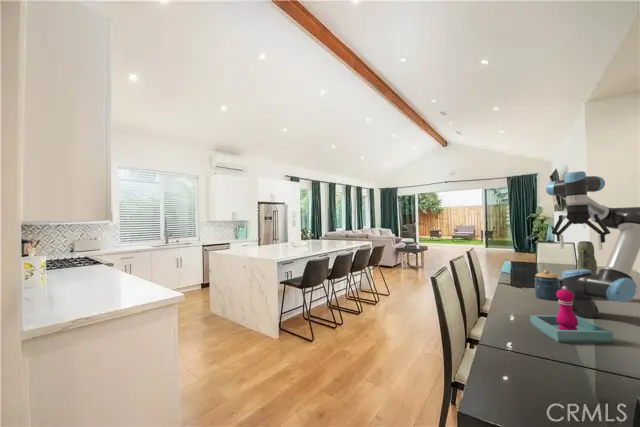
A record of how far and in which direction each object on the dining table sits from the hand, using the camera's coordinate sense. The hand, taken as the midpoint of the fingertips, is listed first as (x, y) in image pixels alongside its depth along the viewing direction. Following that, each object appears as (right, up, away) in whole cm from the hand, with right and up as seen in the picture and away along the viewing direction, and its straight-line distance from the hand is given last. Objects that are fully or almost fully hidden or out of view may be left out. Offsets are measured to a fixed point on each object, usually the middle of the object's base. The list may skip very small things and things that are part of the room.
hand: (580, 249), depth 131 cm
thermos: (+45, -36, +42) cm, 71 cm away
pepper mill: (-11, -36, -6) cm, 38 cm away
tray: (-11, -37, -6) cm, 39 cm away
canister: (+23, -37, +46) cm, 63 cm away
